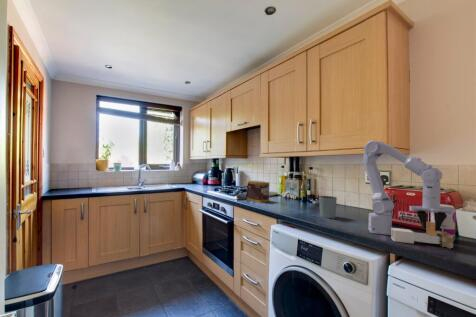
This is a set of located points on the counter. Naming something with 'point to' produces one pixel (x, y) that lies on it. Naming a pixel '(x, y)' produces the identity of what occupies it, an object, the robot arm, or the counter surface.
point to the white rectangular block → (402, 235)
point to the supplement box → (258, 191)
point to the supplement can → (447, 221)
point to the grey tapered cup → (327, 206)
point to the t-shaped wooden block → (428, 235)
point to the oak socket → (446, 239)
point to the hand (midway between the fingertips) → (430, 229)
